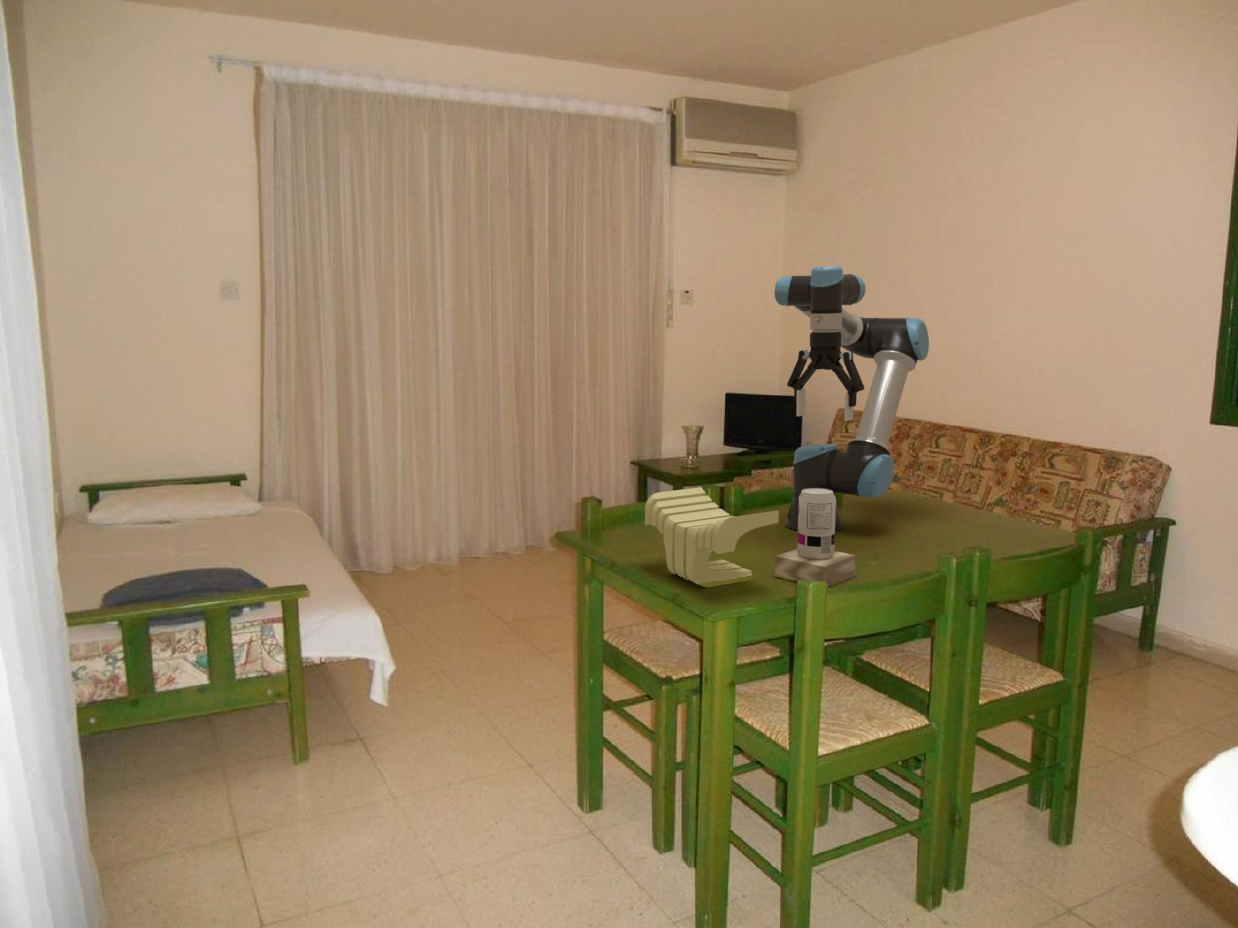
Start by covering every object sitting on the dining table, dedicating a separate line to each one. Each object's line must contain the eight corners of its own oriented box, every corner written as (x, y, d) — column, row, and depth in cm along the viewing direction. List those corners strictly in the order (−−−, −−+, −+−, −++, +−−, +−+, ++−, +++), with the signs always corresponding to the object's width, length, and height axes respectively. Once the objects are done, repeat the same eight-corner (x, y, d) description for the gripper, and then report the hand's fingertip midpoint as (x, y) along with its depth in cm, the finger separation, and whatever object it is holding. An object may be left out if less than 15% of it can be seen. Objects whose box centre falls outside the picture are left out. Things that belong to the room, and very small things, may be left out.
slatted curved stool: (645, 566, 220) (644, 494, 217) (700, 557, 227) (701, 487, 224) (716, 601, 194) (717, 518, 191) (777, 589, 201) (778, 510, 198)
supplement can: (790, 555, 210) (791, 491, 207) (810, 548, 216) (812, 486, 213) (820, 562, 204) (822, 496, 202) (840, 555, 210) (843, 490, 207)
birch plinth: (774, 577, 211) (775, 555, 210) (807, 565, 220) (807, 545, 219) (823, 588, 202) (824, 566, 201) (855, 576, 211) (855, 555, 210)
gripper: (774, 331, 229) (773, 415, 233) (864, 332, 212) (861, 423, 216) (791, 329, 234) (790, 412, 238) (880, 331, 217) (877, 420, 221)
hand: (824, 418), depth 227 cm, fingers open, 13 cm apart
